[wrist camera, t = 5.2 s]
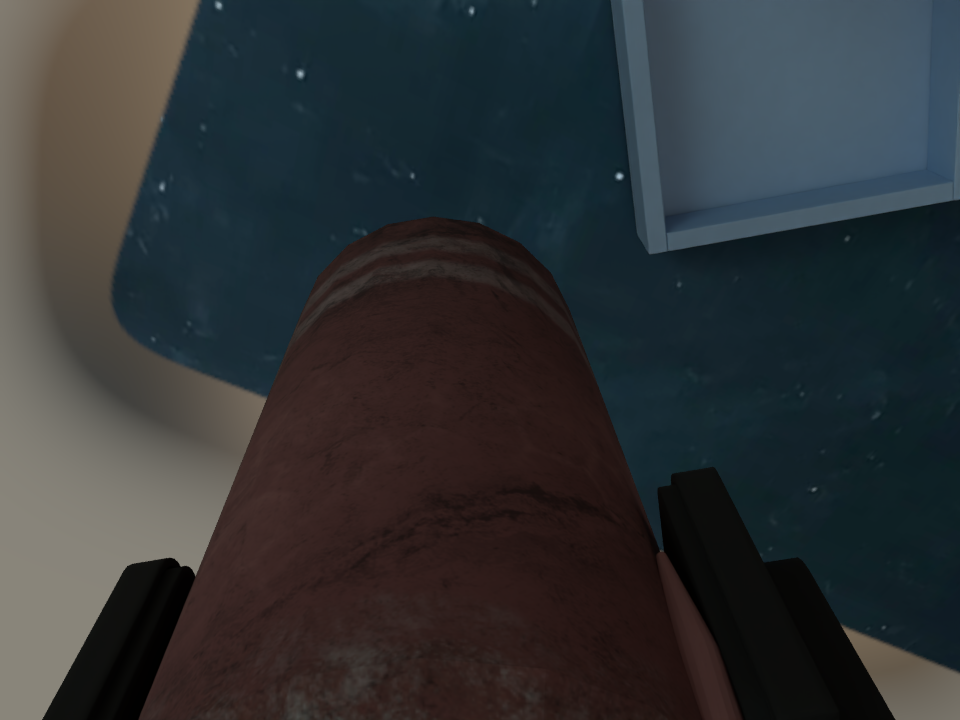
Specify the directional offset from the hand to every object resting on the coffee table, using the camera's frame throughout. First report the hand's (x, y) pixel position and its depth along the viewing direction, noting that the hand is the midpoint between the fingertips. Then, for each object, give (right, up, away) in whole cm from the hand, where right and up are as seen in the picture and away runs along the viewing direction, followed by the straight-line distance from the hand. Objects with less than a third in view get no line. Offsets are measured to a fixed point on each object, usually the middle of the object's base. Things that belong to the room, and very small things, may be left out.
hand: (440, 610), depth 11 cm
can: (0, +4, +8) cm, 9 cm away
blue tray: (+11, +14, +19) cm, 26 cm away
